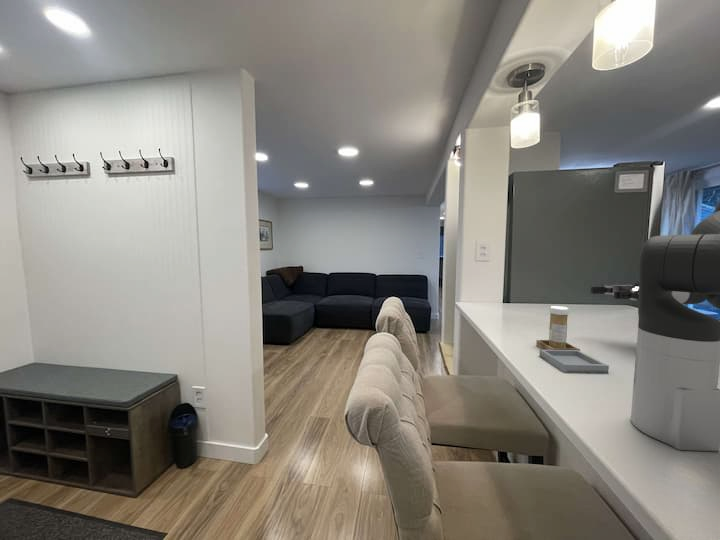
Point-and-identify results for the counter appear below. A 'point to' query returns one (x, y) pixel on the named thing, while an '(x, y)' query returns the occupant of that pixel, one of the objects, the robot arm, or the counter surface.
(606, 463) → the counter surface
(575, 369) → the slate tray
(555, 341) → the sprinkles bottle
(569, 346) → the wooden picture frame
